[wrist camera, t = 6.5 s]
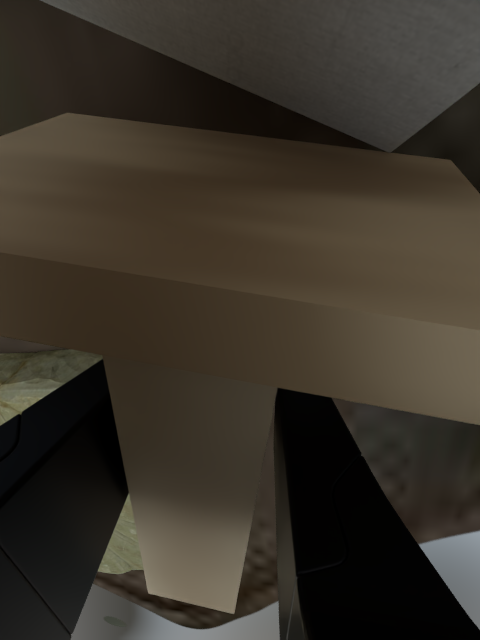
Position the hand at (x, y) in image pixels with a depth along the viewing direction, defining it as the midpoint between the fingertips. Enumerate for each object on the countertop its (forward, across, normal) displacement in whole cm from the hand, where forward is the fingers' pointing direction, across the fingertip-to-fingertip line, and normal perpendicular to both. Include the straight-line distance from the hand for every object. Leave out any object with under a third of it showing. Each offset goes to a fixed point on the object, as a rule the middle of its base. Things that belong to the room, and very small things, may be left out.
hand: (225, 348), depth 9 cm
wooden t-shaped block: (+1, 0, +2) cm, 2 cm away
